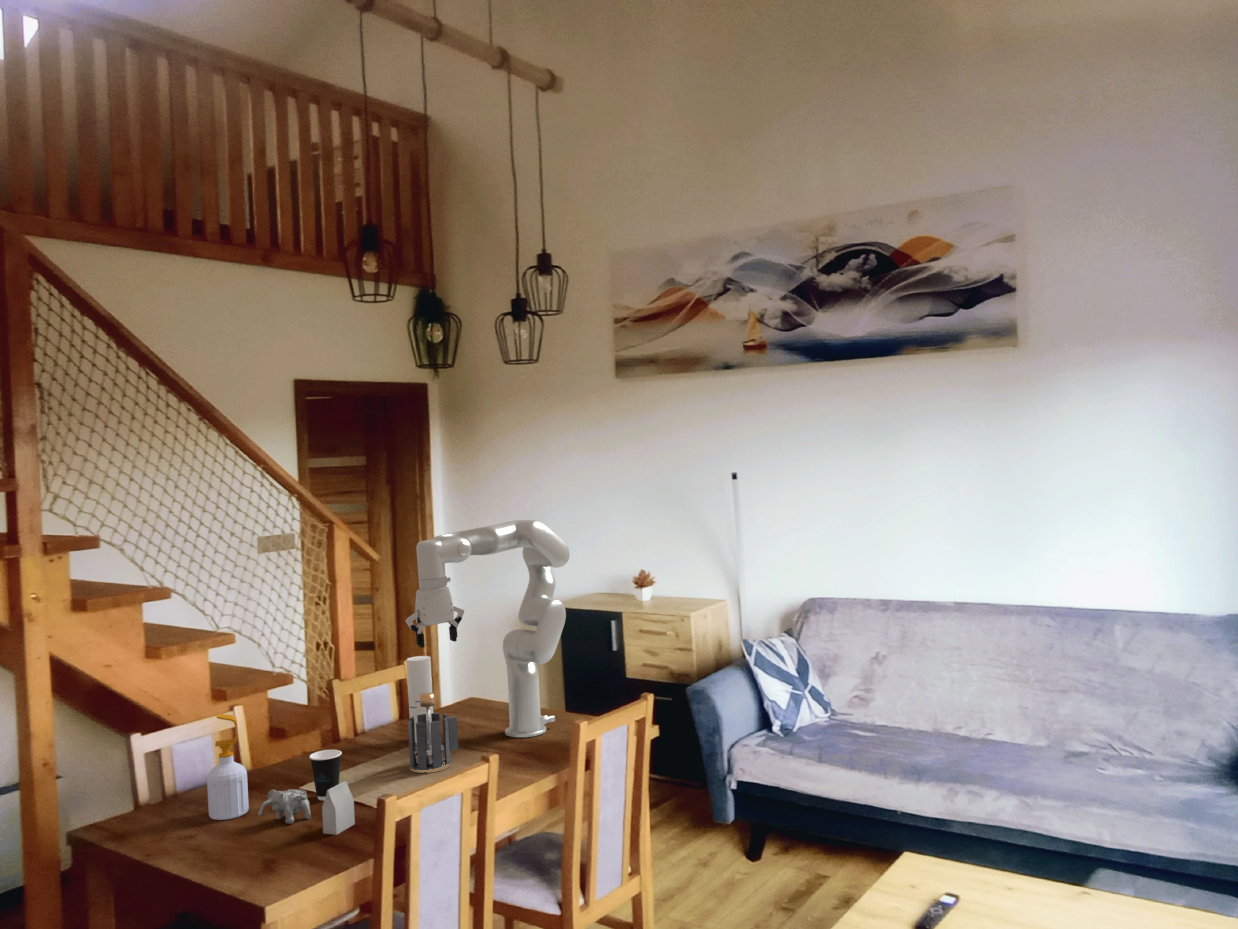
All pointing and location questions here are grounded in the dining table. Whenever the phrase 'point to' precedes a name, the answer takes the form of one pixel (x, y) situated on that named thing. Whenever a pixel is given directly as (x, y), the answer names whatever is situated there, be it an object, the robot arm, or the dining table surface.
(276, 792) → the gray elephant figurine
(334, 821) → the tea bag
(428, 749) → the plunger
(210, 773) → the soap bottle
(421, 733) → the frame
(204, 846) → the dining table surface
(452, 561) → the robot arm
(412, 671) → the cylindrical container
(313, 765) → the dixie cup
